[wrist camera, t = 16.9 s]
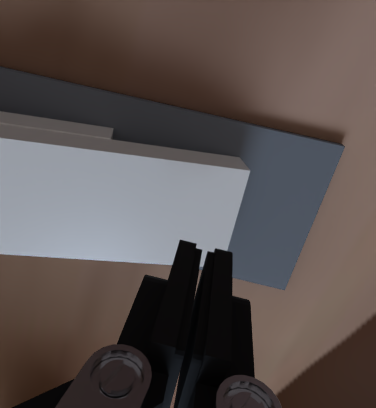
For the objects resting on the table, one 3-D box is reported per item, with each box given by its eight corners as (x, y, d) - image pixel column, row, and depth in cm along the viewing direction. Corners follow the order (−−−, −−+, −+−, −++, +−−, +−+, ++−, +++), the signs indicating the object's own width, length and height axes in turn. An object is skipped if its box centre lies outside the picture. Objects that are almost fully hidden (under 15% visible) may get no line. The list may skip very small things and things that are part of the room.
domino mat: (342, 144, 14) (344, 146, 14) (283, 285, 18) (284, 290, 18) (-293, -1, 15) (-306, -2, 15) (-232, 160, 19) (-241, 162, 19)
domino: (250, 170, 14) (-21, 135, 11) (222, 268, 16) (-10, 253, 14) (239, 157, 15) (-4, 123, 13) (215, 248, 17) (3, 232, 15)
